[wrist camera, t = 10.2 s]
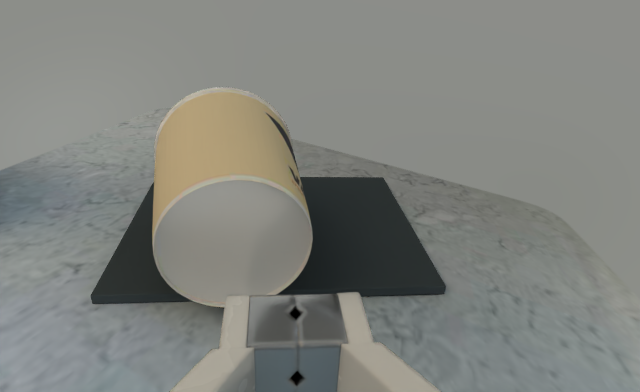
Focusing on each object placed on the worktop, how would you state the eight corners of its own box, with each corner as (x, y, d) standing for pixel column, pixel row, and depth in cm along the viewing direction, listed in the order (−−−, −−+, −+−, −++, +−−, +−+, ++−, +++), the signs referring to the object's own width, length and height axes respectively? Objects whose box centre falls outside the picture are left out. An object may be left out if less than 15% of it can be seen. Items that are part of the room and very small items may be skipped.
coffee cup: (346, 168, 21) (298, 92, 31) (129, 154, 18) (155, 75, 28) (312, 317, 25) (280, 207, 35) (134, 323, 22) (155, 202, 32)
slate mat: (382, 183, 41) (383, 177, 40) (444, 294, 26) (446, 286, 26) (157, 182, 38) (156, 176, 38) (92, 304, 24) (90, 295, 24)
